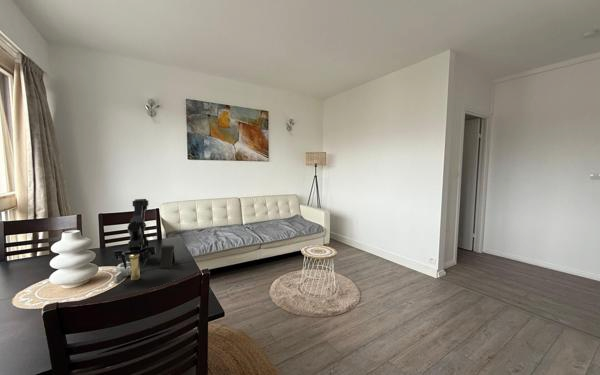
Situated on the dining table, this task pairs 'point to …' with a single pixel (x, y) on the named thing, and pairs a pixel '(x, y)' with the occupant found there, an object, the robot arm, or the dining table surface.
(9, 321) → the dining table surface
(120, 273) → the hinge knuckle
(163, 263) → the door stopper
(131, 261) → the yellow tall cylinder
